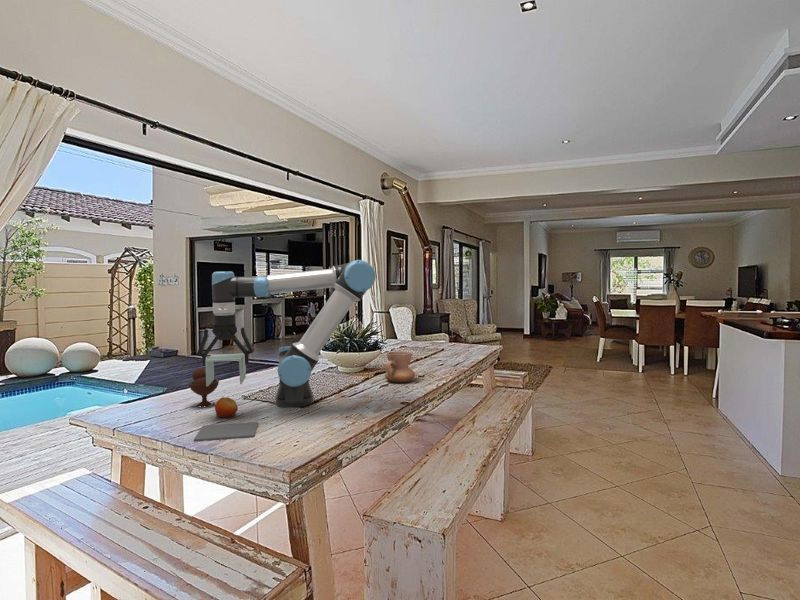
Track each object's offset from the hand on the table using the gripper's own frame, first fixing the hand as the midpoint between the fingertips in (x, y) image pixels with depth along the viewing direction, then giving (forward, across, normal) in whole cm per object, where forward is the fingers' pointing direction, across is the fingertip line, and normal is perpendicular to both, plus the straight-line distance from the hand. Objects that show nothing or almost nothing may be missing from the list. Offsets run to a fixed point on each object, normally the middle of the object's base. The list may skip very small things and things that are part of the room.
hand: (226, 373), depth 170 cm
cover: (+3, 0, 0) cm, 3 cm away
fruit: (+16, 0, 0) cm, 16 cm away
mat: (+16, +2, -18) cm, 24 cm away
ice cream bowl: (+16, -12, +18) cm, 27 cm away
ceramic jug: (+17, +72, +42) cm, 85 cm away
